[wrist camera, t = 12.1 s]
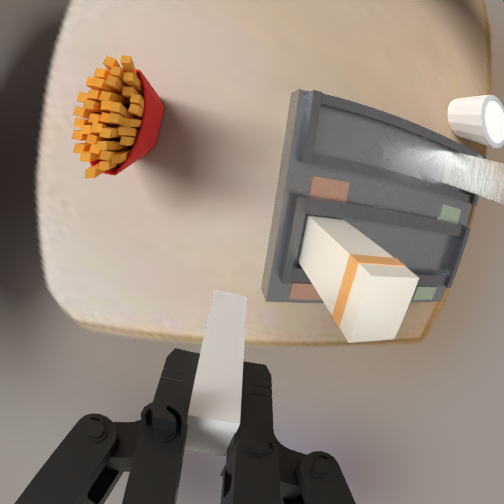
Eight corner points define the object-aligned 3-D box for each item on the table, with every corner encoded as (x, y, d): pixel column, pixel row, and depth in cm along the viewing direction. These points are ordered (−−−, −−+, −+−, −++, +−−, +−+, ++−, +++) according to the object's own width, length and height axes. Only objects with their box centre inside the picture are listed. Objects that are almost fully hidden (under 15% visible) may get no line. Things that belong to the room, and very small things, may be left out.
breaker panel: (291, 93, 26) (368, 57, 11) (466, 152, 30) (555, 177, 16) (261, 287, 34) (293, 392, 19) (429, 291, 38) (494, 352, 24)
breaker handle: (307, 214, 28) (371, 275, 16) (344, 219, 28) (419, 277, 17) (297, 262, 30) (347, 343, 18) (333, 264, 30) (394, 339, 18)
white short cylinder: (466, 91, 27) (502, 92, 20) (477, 136, 29) (512, 142, 23) (438, 98, 27) (476, 98, 21) (451, 146, 30) (488, 154, 23)
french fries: (152, 165, 27) (113, 184, 16) (117, 159, 26) (62, 176, 15) (171, 85, 24) (144, 53, 13) (135, 80, 23) (89, 51, 12)
